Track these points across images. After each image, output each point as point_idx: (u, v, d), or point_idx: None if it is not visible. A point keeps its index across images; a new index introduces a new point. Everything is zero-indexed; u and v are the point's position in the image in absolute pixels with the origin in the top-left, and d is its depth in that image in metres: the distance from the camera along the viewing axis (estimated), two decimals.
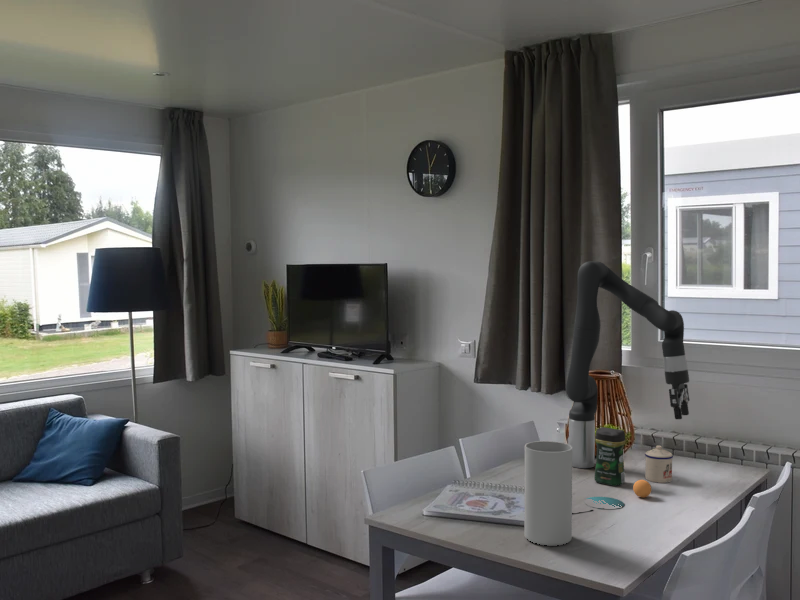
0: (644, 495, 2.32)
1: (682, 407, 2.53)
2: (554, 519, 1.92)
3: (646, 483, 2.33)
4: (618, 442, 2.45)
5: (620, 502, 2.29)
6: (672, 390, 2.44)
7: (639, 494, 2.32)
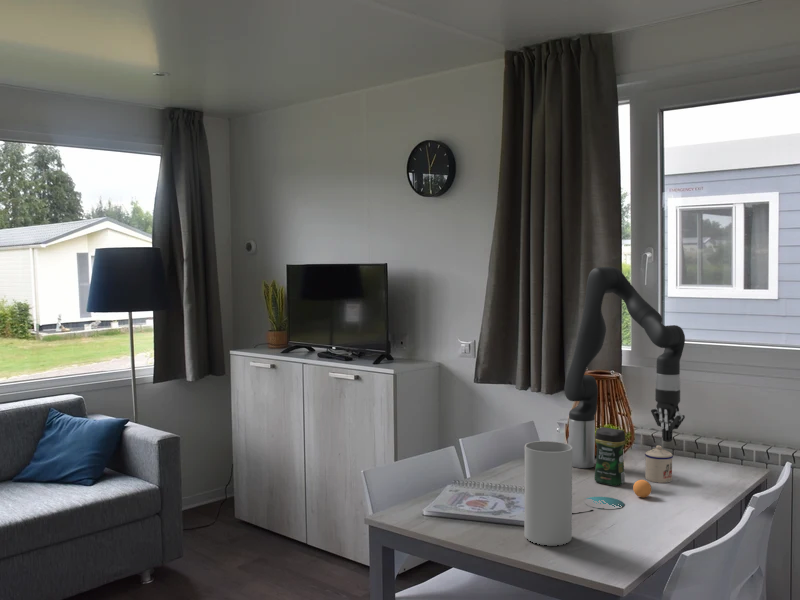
0: (644, 495, 2.32)
1: None
2: (554, 519, 1.92)
3: (646, 483, 2.33)
4: (618, 442, 2.45)
5: (620, 502, 2.29)
6: (681, 418, 2.32)
7: (639, 494, 2.32)
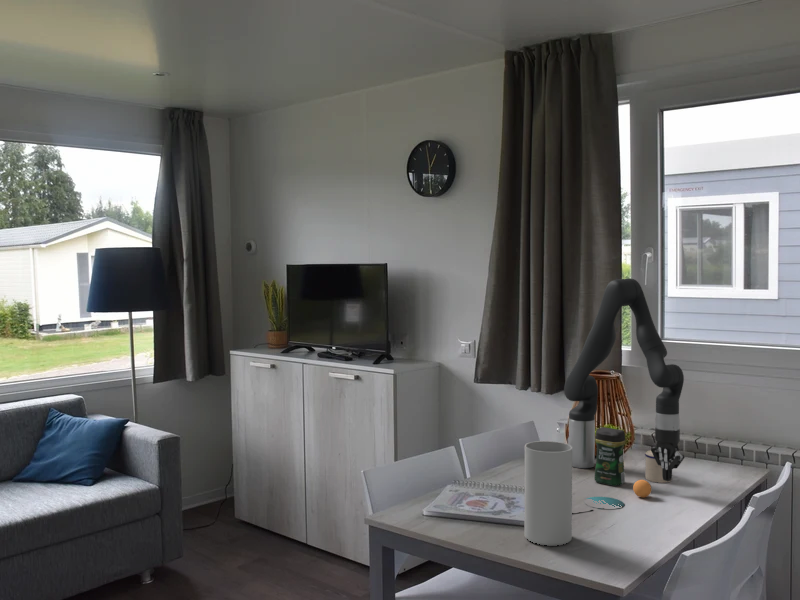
0: (644, 495, 2.32)
1: None
2: (554, 519, 1.92)
3: (646, 483, 2.33)
4: (618, 442, 2.45)
5: (620, 502, 2.29)
6: (681, 458, 2.32)
7: (639, 494, 2.32)
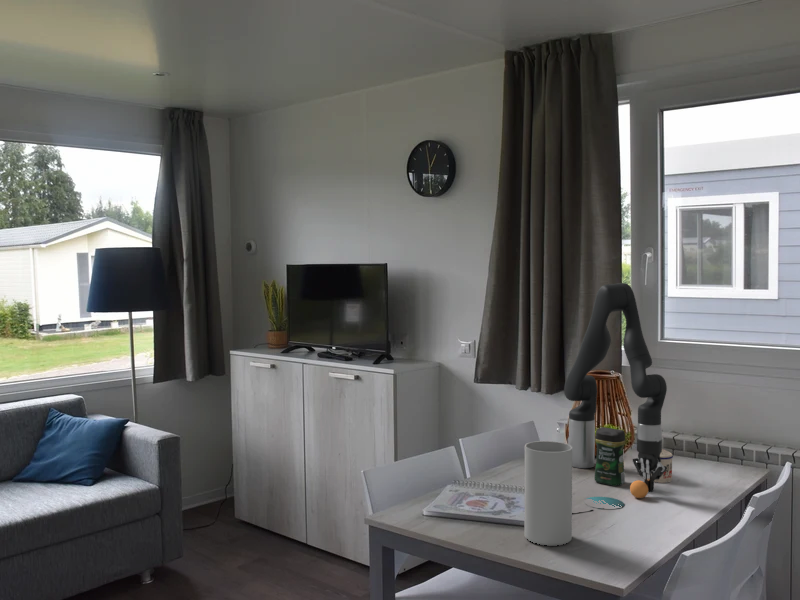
0: (642, 496, 2.32)
1: None
2: (554, 519, 1.92)
3: (641, 484, 2.32)
4: (618, 442, 2.45)
5: (620, 502, 2.29)
6: (663, 469, 2.29)
7: (637, 496, 2.32)
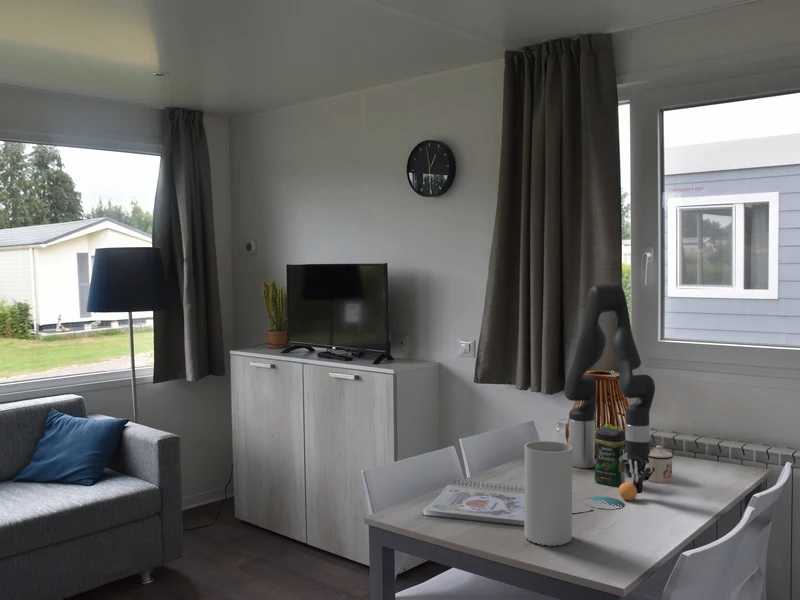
0: (635, 496, 2.31)
1: None
2: (554, 519, 1.92)
3: (626, 491, 2.29)
4: (618, 442, 2.45)
5: (620, 502, 2.29)
6: (651, 470, 2.27)
7: None
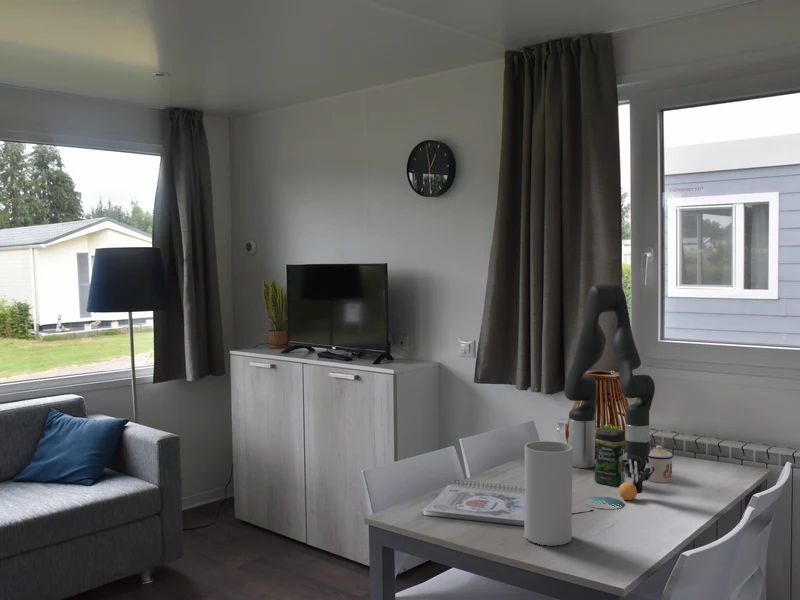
0: (635, 496, 2.31)
1: None
2: (554, 519, 1.92)
3: (626, 491, 2.29)
4: (618, 442, 2.45)
5: (620, 502, 2.29)
6: (651, 470, 2.27)
7: None
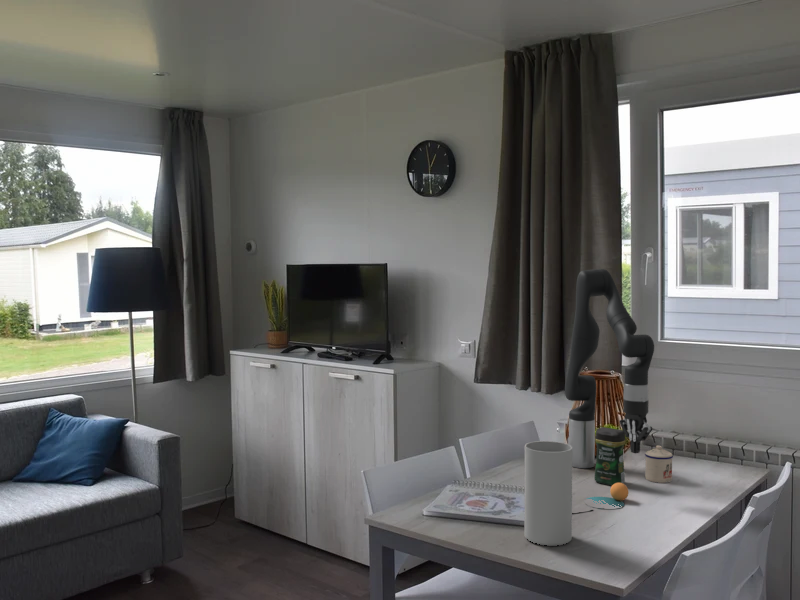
0: (627, 490, 2.30)
1: None
2: (554, 519, 1.92)
3: (619, 497, 2.29)
4: (618, 442, 2.45)
5: (620, 502, 2.29)
6: (648, 430, 2.27)
7: None
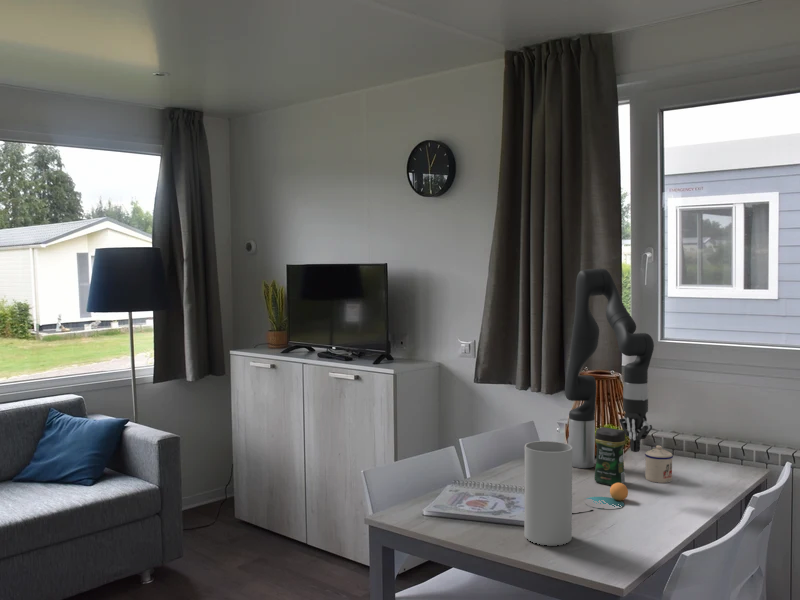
0: (627, 489, 2.30)
1: None
2: (554, 519, 1.92)
3: (618, 497, 2.29)
4: (618, 442, 2.45)
5: (620, 502, 2.29)
6: (648, 428, 2.27)
7: None
